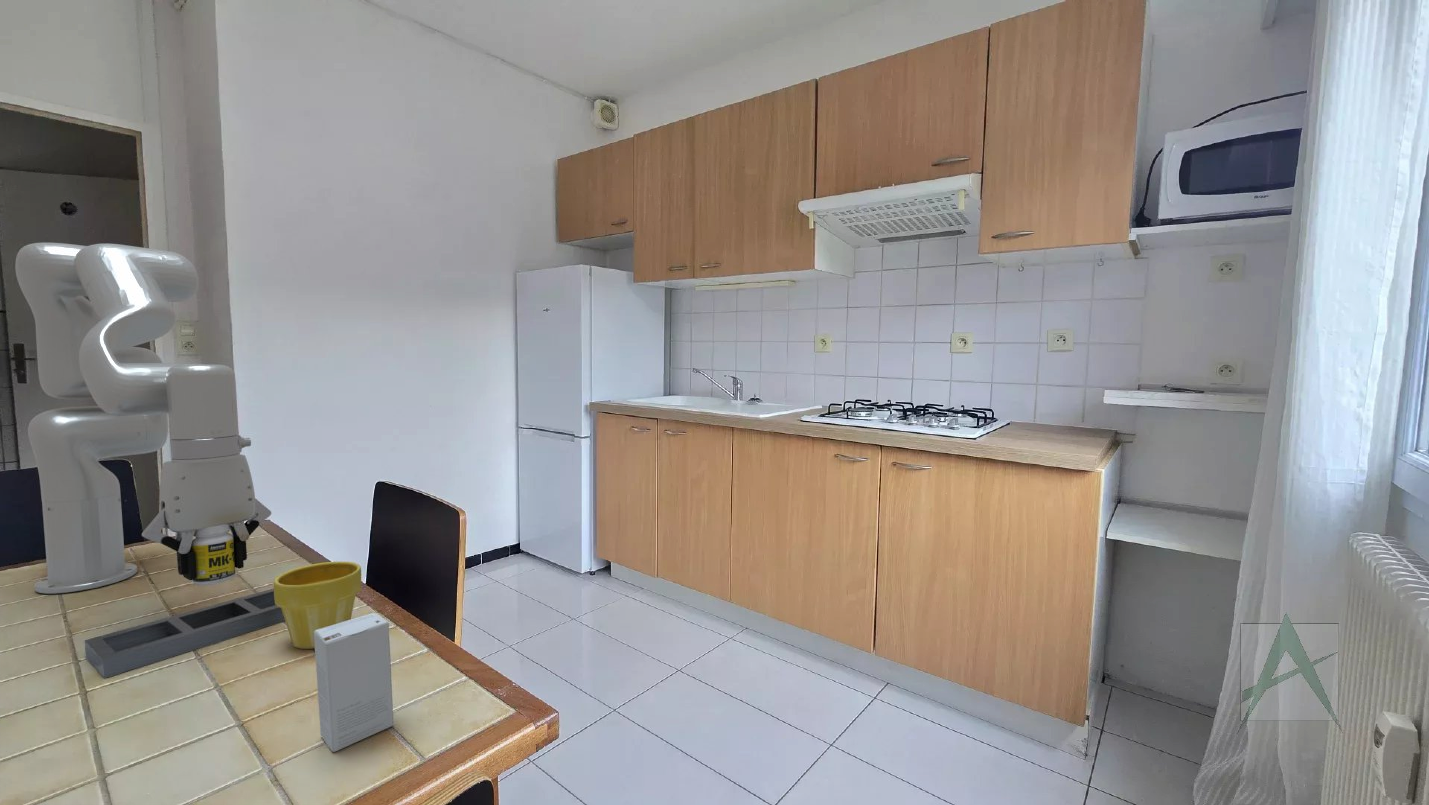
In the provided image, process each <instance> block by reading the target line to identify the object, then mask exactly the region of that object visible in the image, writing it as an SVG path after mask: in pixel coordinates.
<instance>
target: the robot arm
mask: <svg viewBox="0 0 1429 805" xmlns="http://www.w3.org/2000/svg"><path fill="white" fill-rule="evenodd" d="M14 267H15V268H14V269H15V275H16V279H17V282H18V285H19V288H20V291H21V292H22V295H23V296H24V297H25V298H24V299H25V300H26V302H27V304H28V305H29V307H30V310H31V312H32V314H33V317H34V324H35V340H36V355H37V358H36V360H37V371H38V372H37V373H38V380H39V383H40V384H39V385H40V387H41V388H42V389H41V390H42V391H43V392H44V393H45V394H46V395H48V396H49V397H51V398H55V399H62V400H94V402H95V403H96V405H90V406H88V405H87V406H71V407H70V406H69V407H60V408H59V407H58V408H53V409H49V410H46V411H42V412H40V413H38V414H36V416H34V417H32V419H31V420H30V422H29V424H28V427H27V433H28V434H27V436H28V439H29V440H28V441H29V444H30V446H31V450H32V454H33V456H34V458H35V463H36V466H37V467H36V468H37V470H38V476H39V486H40V496H41V503H42V504H41V506H42V508H41V509H42V518H43V519H42V520H43V532H44V544H45V557H46V558H45V559H46V560H45V562H46V570H47V576H45V577H43V578H41V579H39V580H37V581H36V582H35V583H34V584H33V585H34V591H35V592H36V593H40V594H49V595H50V594H52V595H53V594H64V593H74V592H80V591H85V590H91V589H95V588H96V589H97V588H100V587H103V586H108V585H112V584H115V583H119V582H121V581H124V580H126V579H129V578H131V577H133V576H134V575H136V573H138V566H137V564H135V563H132V562H131V563H130V562H126V559H125V558H126V557H125V544H124V528H123V527H124V526H123V514H122V511H123V510H122V501H121V500H122V498H121V487H120V486H121V484H120V482H119V481H120V480H119V479H118V477H117V476H116V475H115V474H114V473H113V472H112V471H110V470H109V469H108V468H106V467H105V466H104V465H102V464H101V463H100V462H99V461H100V460H101V459H108V458H115V457H125V456H126V457H127V456H132V455H142V454H144V455H145V454H148V453H154V452H157V451H159V450H160V449H162V448H163V447H164V446H165V444H166V443H167V440H168V434H169V445H170V458H171V460H170V461H169V460H168V461H164V462H163V464H162V468H161V474H160V482H159V494H158V495H159V497H158V498H159V501H158V504H159V505H158V514H156V516H154V518H153V519H152V521H151V522H150V523H149V524H148V525H147V526H146V527H145V529H144V530H143V531H142V533H141V537H143V538H145V539H146V540H150V541H152V542H155V543H158V544H161V545H163V546H166V547H167V548H169V549H171V550H173V551H175V552H176V560H177V573H178V574H179V575H180V576H183V578H185V579H186V580H188V581H193V580H194V579H195V578H197V573H196V557H195V552H193V551H192V549H191V544H192V540H193V539H194V537H195V536H194V533H195V531H196V530H202V529H205V528H208V527H212V526H217V525H228V524H229V526H230V531H229V532H230V534H232V535H233V540H234V559H235V569H238V570H240V569H243V568H244V567H245V564H244V562H245V561H246V560H247V559H248V555H247V554H248V550H247V541H249V539H250V536H252V534H253V533H254V531H256V529H258V527H259V526H260V525H261V524H262V523H263V522H264V521H266V519H268V518H269V517H270V516H271V515H272V511H271V509H269V508H267V506H265V505H264V504H263V503H261V502H260V501H259V500H258V499H257V498H256V495H255V488H254V482H253V479H252V478H253V477H252V473H251V469H250V466H249V462H248V460H247V457H246V455H245V454H241V453H242V450H243V449H244V448H246V447H251V446H252V440H251V438H250V437H242V436H241V435H242V434H240V431H239V415H238V400H237V398H238V397H237V385H236V384H237V382H236V374H235V371H234V370H233V369H232V368H231V367H229V366H227V365H225V364H209V363H208V364H205V363H204V364H203V363H171V362H169V363H168V362H166V363H165V362H164V363H163V361H162V358H161V357H160V356H159V355H158V354H157V353H156V352H154V351H153V350H151V349H148V348H144V347H139V345H143V344H146V343H148V342H152V341H155V340H157V339H159V338H162V337H164V336H165V335H166V334H168V333H169V332H170V331H171V330H173V328H174V327H175V324H176V322H177V316H176V313H175V310H174V309H173V306H171V303H183V302H189V301H191V299H193V298H194V297H195V296H196V294H197V292H198V290H199V283H200V282H199V280H200V279H199V275H198V273H197V269H196V268H195V266H194V265H193V263H192V262H191V261H190V260H189V259H188V258H186V257H185V256H184V255H182V254H180V253H177V252H175V251H169V250H164V249H163V250H161V249H156V248H148V247H141V246H134V245H126V244H118V243H95V244H90V245H80V244H71V243H63V242H34V243H29V244H26V245H25V246H23V247H21V248H20V249H19V251H18V252H17V254H16V257H15V266H14ZM86 297H88V299H87V298H86ZM244 522H245V523H244ZM162 529H166V530H170V531H171V532H173V533H175V535H174V537H172V536H170V535H168V534H165V533H163V532H162Z"/></svg>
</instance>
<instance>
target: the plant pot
mask: <svg viewBox="0 0 1429 805" xmlns="http://www.w3.org/2000/svg"><path fill="white" fill-rule="evenodd" d="M272 586H273V588H274V600H275V604H276V605H277V606H278V607H280V608H281V609H282V612H283V615H284V618H285V621H284V622H285V625H286V627H287V631H288V634H289V636H290V641H291V643H292V645H293V646H294V647H295V648H298V649H305V650H306V649H307V650H309V649H310V650H311V649H312V650H313V649H315V641H314V631H315V630H318V629H322V628H325V627H328V626H332V625H335V624H338V623H341V622H345V621H348V620H351V619H352V614H353V610H354V606H355V601H356V595H357V594H358V593H359V592H360V591H361V588H362V567H361V566H360V564H358V563H356V562H352V561H327V562H318V563H313V564H307V565H303V566H300V567H296V568H293V569H290V570H287V571H285V572H283V573H281V574H279V575H277V576H276V577H275V578H274V580H273V584H272Z"/></svg>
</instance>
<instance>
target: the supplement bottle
mask: <svg viewBox="0 0 1429 805" xmlns="http://www.w3.org/2000/svg"><path fill="white" fill-rule="evenodd" d="M229 532H230V533H229ZM193 537H195V538H193V540H192V544H191V549H192V551H193V552H195V557H196V573H197V578H195V579H194V580H192V583H193V585H195V586H211V585H217V584H221V583H224V582H227V581H230V580H232V579H234V578H235V576H236V567H235V559H234V540H233V535H232V533H231V531H230V526H229V524H228V525H217V526H212V527H208V528H205V529H202V530H196V531H195V533H194V536H193Z"/></svg>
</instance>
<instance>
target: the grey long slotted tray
mask: <svg viewBox="0 0 1429 805" xmlns="http://www.w3.org/2000/svg"><path fill="white" fill-rule="evenodd" d="M283 622H285V618H284V615H283V612H282V609H281V608H280V607H278V606H277V605H276V604H275V600H274V587H272V588H270V589H267V590H264V591H260V592H256V593H251V594H248V595H245V596H241V597H238V598H237V597H236V598H234V599H231V600H227V601H222V602H219V603H216V604H213V605H212V604H211V605H209V606H204V607H201V608H197V609H194V610H189V611H186V612H183V613H179V614H175V615H172V616H168V617H164V618H160V619H157V620H154V621H153V620H152V621H150V622H145V623H142V624H139V625H135V626H131V627H128V628H125V629H121V630H117V631H113V632H110V633H106V634H103V635H99V636H96V637H92V638H91V637H90V638H88V639H85V640H84V641H83V642H84V654H85V655H84V656H85V659H86V660H87V661H88V662H89V663H90V664H91V666H92V667H93V668H95V670H96V671H97V672H98V673H99V674H100V676H101V677H103V679H107V678H110V677H113V676H117V675H120V674H123V673H126V672H129V671H133V670H136V669H138V668H143V667H145V666H148V665H151V664H154V663H157V662H161V661H164V660H167V659H170V658H174V657H176V656H179V655H184V654H186V653H189V652H192V651H195V650H198V649H202V648H204V647H207V646H211V645H214V644H217V643H221V642H223V641H226V640H230V639H232V638H236V637H240V636H242V635H245V634H249V633H251V632H255V631H257V630H261V629H264V628H267V627H270V626H274V625H277V624H280V623H283Z"/></svg>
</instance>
